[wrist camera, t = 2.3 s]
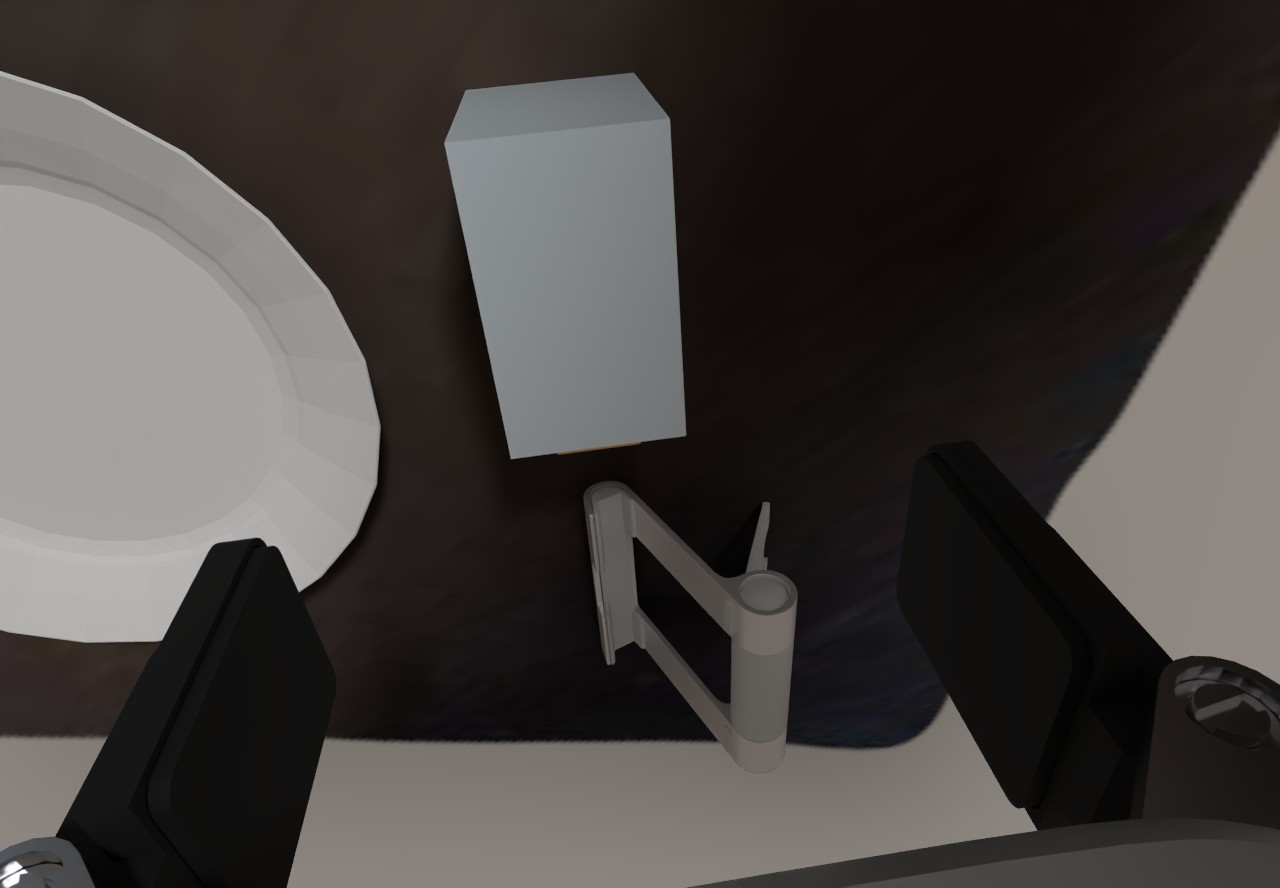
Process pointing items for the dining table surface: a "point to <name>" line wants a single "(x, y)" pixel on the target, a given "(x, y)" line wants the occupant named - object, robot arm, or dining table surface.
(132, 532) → the plate
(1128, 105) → the dining table surface
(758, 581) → the portable electronic device stand
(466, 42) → the dining table surface
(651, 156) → the block
